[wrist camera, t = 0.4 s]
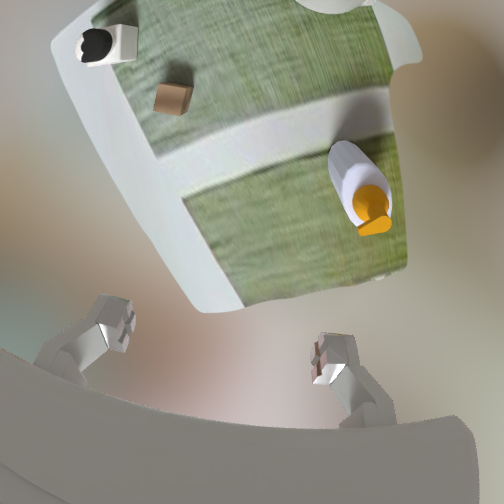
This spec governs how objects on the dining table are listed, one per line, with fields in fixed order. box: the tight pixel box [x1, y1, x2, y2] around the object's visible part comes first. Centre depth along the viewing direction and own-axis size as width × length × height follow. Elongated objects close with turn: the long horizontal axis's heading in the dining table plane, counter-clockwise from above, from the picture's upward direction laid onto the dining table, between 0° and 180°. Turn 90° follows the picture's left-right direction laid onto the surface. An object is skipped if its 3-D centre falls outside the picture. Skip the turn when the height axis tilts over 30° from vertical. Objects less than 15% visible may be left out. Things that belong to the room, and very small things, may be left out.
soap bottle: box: [328, 141, 392, 236], centre depth 44 cm, size 13×8×20 cm, turn 27°
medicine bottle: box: [75, 24, 138, 67], centre depth 34 cm, size 7×7×12 cm
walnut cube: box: [153, 82, 194, 116], centre depth 43 cm, size 5×5×5 cm
